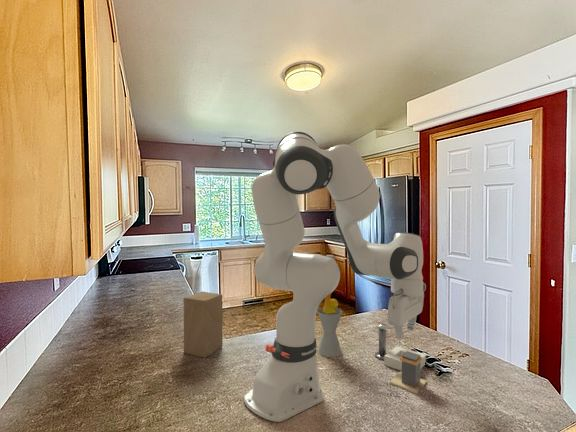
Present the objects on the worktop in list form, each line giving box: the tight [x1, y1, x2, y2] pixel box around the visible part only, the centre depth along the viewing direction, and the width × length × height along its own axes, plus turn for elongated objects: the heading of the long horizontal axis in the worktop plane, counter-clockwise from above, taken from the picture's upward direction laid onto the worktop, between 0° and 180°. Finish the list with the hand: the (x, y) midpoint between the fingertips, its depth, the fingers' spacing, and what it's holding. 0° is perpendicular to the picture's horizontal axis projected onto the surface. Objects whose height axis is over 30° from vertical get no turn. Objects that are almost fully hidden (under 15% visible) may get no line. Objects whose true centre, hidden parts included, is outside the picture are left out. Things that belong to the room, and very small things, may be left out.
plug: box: [400, 351, 422, 388], centre depth 91 cm, size 5×5×8 cm
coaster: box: [389, 370, 428, 395], centre depth 92 cm, size 8×8×1 cm
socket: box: [383, 345, 427, 372], centre depth 103 cm, size 10×10×3 cm
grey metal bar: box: [377, 320, 392, 331], centre depth 112 cm, size 15×3×2 cm, turn 135°
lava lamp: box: [317, 254, 343, 358], centre depth 112 cm, size 9×9×35 cm
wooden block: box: [183, 291, 223, 359], centre depth 113 cm, size 10×10×20 cm
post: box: [374, 329, 388, 361], centre depth 108 cm, size 5×5×10 cm
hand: (405, 333), depth 92 cm, fingers open, 8 cm apart
